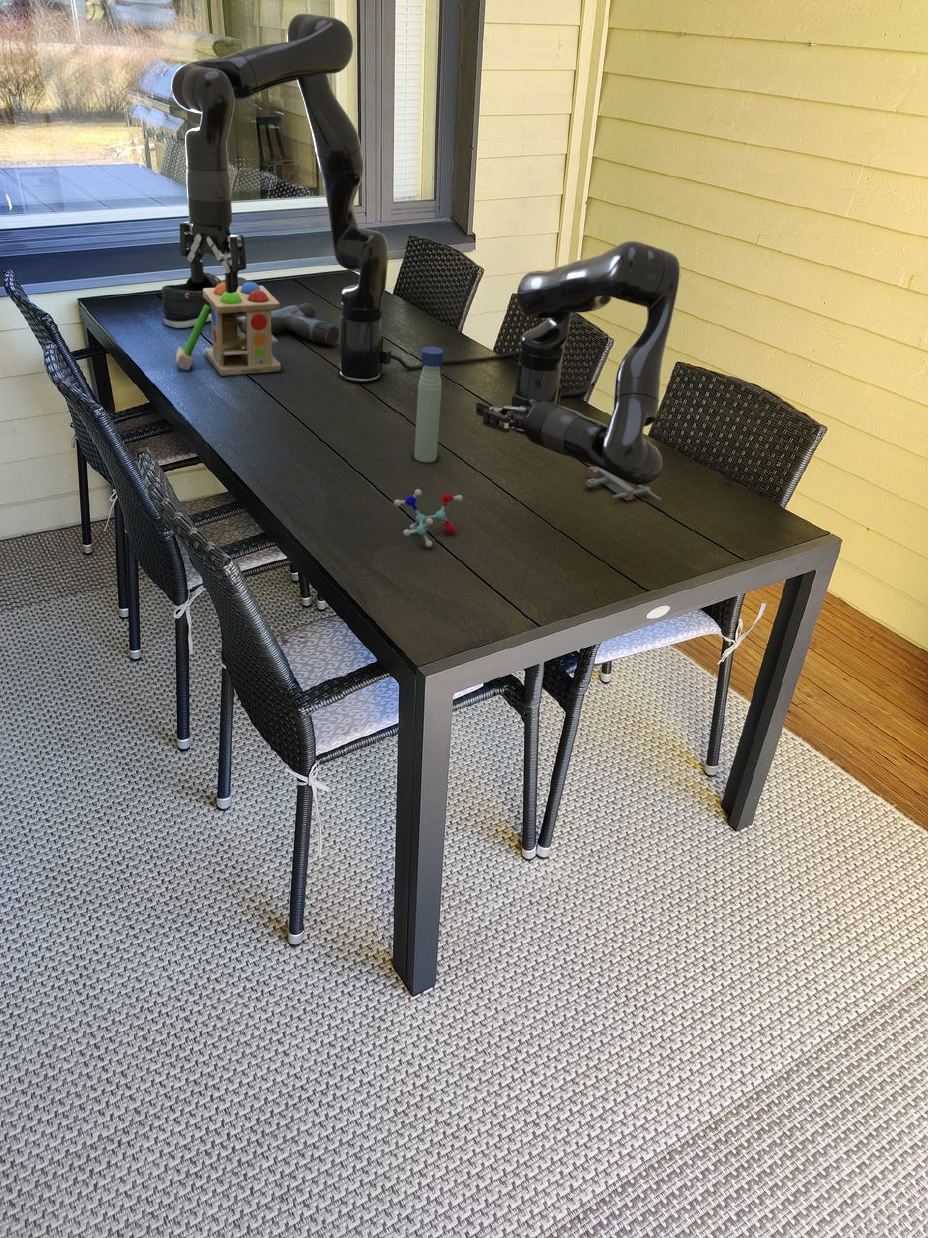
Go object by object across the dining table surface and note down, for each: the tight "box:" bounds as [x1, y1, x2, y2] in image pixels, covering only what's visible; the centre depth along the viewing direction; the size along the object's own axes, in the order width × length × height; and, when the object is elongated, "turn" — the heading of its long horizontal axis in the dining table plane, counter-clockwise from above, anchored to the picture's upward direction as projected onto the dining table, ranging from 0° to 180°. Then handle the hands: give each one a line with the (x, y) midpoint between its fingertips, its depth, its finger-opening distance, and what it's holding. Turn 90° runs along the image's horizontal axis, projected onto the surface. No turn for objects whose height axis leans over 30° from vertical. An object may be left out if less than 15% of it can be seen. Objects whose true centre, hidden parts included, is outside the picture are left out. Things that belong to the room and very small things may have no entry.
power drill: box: [271, 302, 340, 346], centre depth 252 cm, size 5×19×20 cm
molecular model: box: [393, 488, 464, 548], centre depth 169 cm, size 12×10×10 cm
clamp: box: [585, 466, 663, 503], centre depth 191 cm, size 15×2×10 cm
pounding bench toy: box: [174, 281, 282, 377], centre depth 225 cm, size 23×14×18 cm, turn 116°
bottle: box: [413, 365, 443, 463], centre depth 192 cm, size 4×4×22 cm
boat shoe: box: [160, 271, 249, 329], centre depth 258 cm, size 13×33×10 cm, turn 147°
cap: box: [420, 346, 444, 367], centre depth 186 cm, size 4×4×2 cm
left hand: (214, 287), depth 183 cm, fingers open, 8 cm apart
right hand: (495, 404), depth 176 cm, fingers open, 8 cm apart
